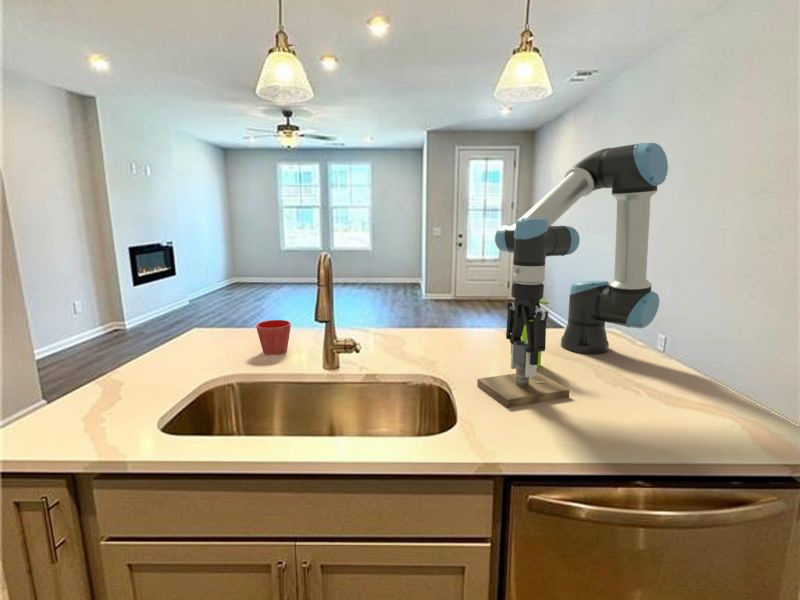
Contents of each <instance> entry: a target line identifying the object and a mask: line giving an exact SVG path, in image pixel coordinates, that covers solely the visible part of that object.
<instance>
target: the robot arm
mask: <svg viewBox="0 0 800 600" xmlns="http://www.w3.org/2000/svg"><path fill="white" fill-rule="evenodd" d="M668 163H669V162H668V158H667V154H666V151H665V150H664V149H663V147H662V146H661V145H660V144H658V143H656V142H639V143H635V144H634V143H633V144H628V145H622V146H615V147H607V148H602V149H599V150H597V151H595V152H593V153H591V154H590V155H589V154H588V155H587V156H586V157H584V158H583V159H582V160H579V162H577V163H576V164H574V165H573V166H572V167H570V169H568V171H567V172H566V173H565V175H564V178H563V179H562V181H560V182H559V183H558V184H557V185H556V186H555V187H554V188H552V189H551V190H550V191H549V192H548V193H547V194H545V196H543V197H542V198H541V199H540V200H539V201H538V202H537V203H536V204H534V205H533V206H532V207H531V208H530V209H529V210H528V211H526V213H524V215H522V216H521V217H520V218H518V219H516V221H515V222H514V223H513V224H506V225H505V224H504V225H501V226H499V228H498V229H497V230H496V233H495V235H494V236H495V237H494V243H495V246H496V248H498V250H500V251H501V252H507V253H511V254H513V261H512V262H513V266H512V280H513V282H512V284H511V297H512V298H513V299H514V301H511V302H509V301H508V302H507V303H506V306H507V308H506V309H507V319H506V329H505V330H506V332H505V338H506V340H508V341H509V342H510V355H511V356H510V369H511V370H516V367H517V363H516V362H513V346H514V341H522V333H523V329H524V325H526V330H527V338H528V347H529V350H526V368H525V377H533V376H536V372H537V364H538V353H539V352H541V353H542V352H545V351H546V340H547V339H546V338H547V337H546V335H547V320H548V317H549V312H548V310H546V311H544V310H542V309H541V303H539V301H540V300H542V299H543V298H544V291H545V290H544V288H545V285H544V284H543V282H544V281H545V279H546V277H545V275H546V257H559V256H561V257H564V256H567V255H572V254H573V253H575V252H576V251H577V249H578V248H579V245H580V240H581V239H580V234H579V232H578V231H577V229H576V228H574V227H573V226H569V225H565V224H564V225H554V223H555V222H556V221H557V220H558V219H560V218H561V217H562V216H563V215H565V213H566V212H567V211H568V210H570V208H571V207H573V206H574V205H575V204H576V203H577V202H578V201H579V200H580V199H581V198H583V197H587V196H588V195H590V194H591V193H592V192H594V191H597V190H601V189H611V195H612V197H613V198H615V199H616V218H615V219H616V222H615V223H616V227H615V247H614V249H615V250H614V251H615V252H614V254H615V255H614V274H613V275H614V276H613V277H614V278H613V279H612V280H611V281H608V280H584V281H583V280H581V281H576V282H574V283H572V284H571V286H570V291H569V295H568V296H569V299H568V313H567V314H568V315H567V317H568V319H567V325H566V327H565V331H564V333H563V335H562V337H561V338H560V346H561V347H562V348H563V349H565V350H568V351H571V352H574V353H580V354H590V355H591V354H593V355H594V354H595V355H596V354H604V353H607V352H608V351H609V347H610V343H609V340H608V336H607V332H606V327H605V326H606V323H609V324H614V325H617V326H618V325H619V326H622V327H627V328H635V329H644V328H647V327H648V326H649V325H650V324H651V323H652V322H653V321H654V318H656V316H657V313H658V311H659V308H660V307H659V306H660V297H659V294H658V293H657V292H655V291H652V285H653V284H652V283H651V282H650V281H649V280H648V279H647V267H648V251H649V236H650V235H649V232H650V212H651V199H652V197H653V196H654V195H655V194H656V193H657V192H658V186H660V185H662V184H663V183H664V182H665V181H666V179H667V176H668V171H669V165H668ZM533 319H534V320H533ZM529 320H533V321H529ZM533 346H534V347H533Z"/></svg>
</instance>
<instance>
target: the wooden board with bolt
mask: <svg viewBox="0 0 800 600" xmlns="http://www.w3.org/2000/svg"><path fill="white" fill-rule="evenodd" d="M525 368H526V364H520V363H517V367H516V369H515V370H516V373H509V374H503V375H495V376H488V377H479V378H477V383H476V386H477V387H478V388H480V389H481V390H483V392H485V393H486V394H488V395H489V396H490V397H491V398H492V399H494V400H496V401H497V402H498V403H500V404H501V403H502V404H501V405H503V406H504V405H505V406H506V408H507V407H508V408H512V407H511V406H514V407H518V406H517V405H520V406H524V405H523V404H526V405H531V403H532V404H535V403H536V404H537V403H541V402H542V403H543V402H548V401H555V400H560V399H566V398H570V393H571V392H570V388H568V387H566V386H564V385H562V384H560V383H559V382H556V381H554V380H552V379H551V378H549V377H548V376H546V375H543V374H542V373H540V372H537V371H536V376H533V377H525ZM505 406H504V407H505Z"/></svg>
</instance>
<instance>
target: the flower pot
mask: <svg viewBox="0 0 800 600" xmlns="http://www.w3.org/2000/svg"><path fill="white" fill-rule="evenodd" d="M291 325H292V322H290V321H289V320H285V319H269V320H264V321H261V322H258V323H256V330H257V331H256V332H257V335H258V338H259V342H260V346H261V348H262V349H261V350H262V353H263V354H265V355H269V356H277V355H282V354H284V353H287V351H288V347H289V342H290V341H289V340H290V334H291Z"/></svg>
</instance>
